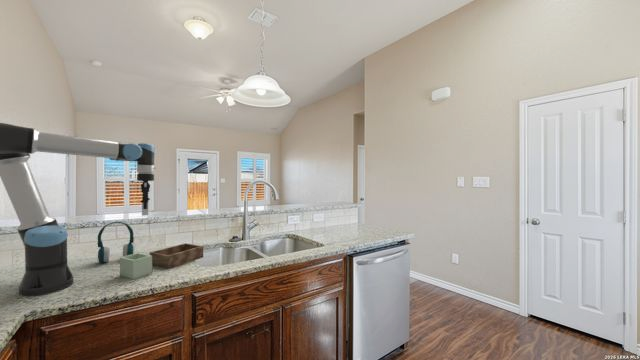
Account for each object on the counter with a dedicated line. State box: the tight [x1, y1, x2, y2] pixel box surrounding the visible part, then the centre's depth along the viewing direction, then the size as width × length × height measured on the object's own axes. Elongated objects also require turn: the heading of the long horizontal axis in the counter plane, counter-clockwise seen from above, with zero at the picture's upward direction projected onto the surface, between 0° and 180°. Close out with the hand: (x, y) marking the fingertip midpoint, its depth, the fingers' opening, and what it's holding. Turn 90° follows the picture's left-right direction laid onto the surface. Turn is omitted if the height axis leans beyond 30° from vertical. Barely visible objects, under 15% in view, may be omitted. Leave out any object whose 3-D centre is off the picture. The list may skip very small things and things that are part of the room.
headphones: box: [96, 221, 135, 264], centre depth 140 cm, size 8×15×20 cm, turn 124°
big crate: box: [149, 243, 204, 270], centre depth 140 cm, size 20×14×6 cm
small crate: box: [119, 252, 153, 280], centre depth 121 cm, size 8×10×8 cm
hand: (145, 213), depth 143 cm, fingers open, 13 cm apart
